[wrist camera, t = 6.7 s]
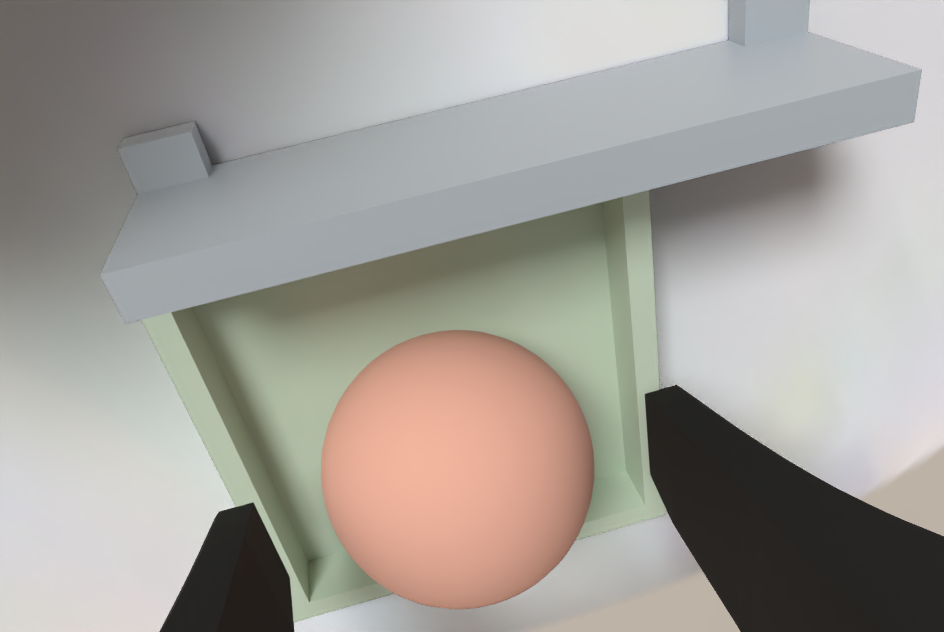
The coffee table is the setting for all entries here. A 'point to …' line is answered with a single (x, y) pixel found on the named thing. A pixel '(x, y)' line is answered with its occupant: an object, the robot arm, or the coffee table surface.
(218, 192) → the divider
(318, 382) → the tray
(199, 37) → the coffee table surface
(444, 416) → the ball
